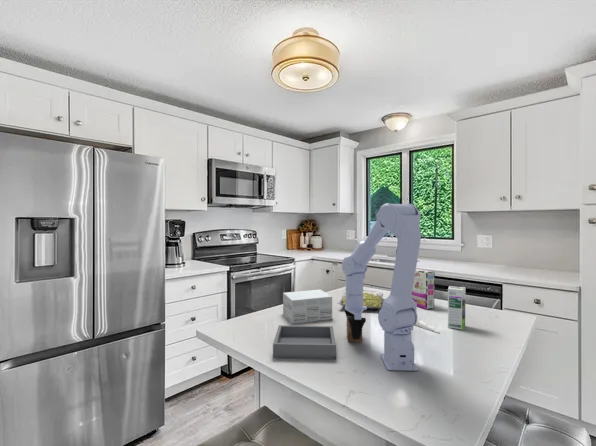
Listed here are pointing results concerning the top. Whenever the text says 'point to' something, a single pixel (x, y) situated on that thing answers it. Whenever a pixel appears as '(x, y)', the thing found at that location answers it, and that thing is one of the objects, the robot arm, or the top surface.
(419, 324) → the unicorn horn
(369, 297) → the frozen beans
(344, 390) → the top surface
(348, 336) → the walnut block
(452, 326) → the syrup box
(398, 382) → the top surface
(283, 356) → the charcoal bin
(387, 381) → the top surface
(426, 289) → the candy bar box
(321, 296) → the supplement box
